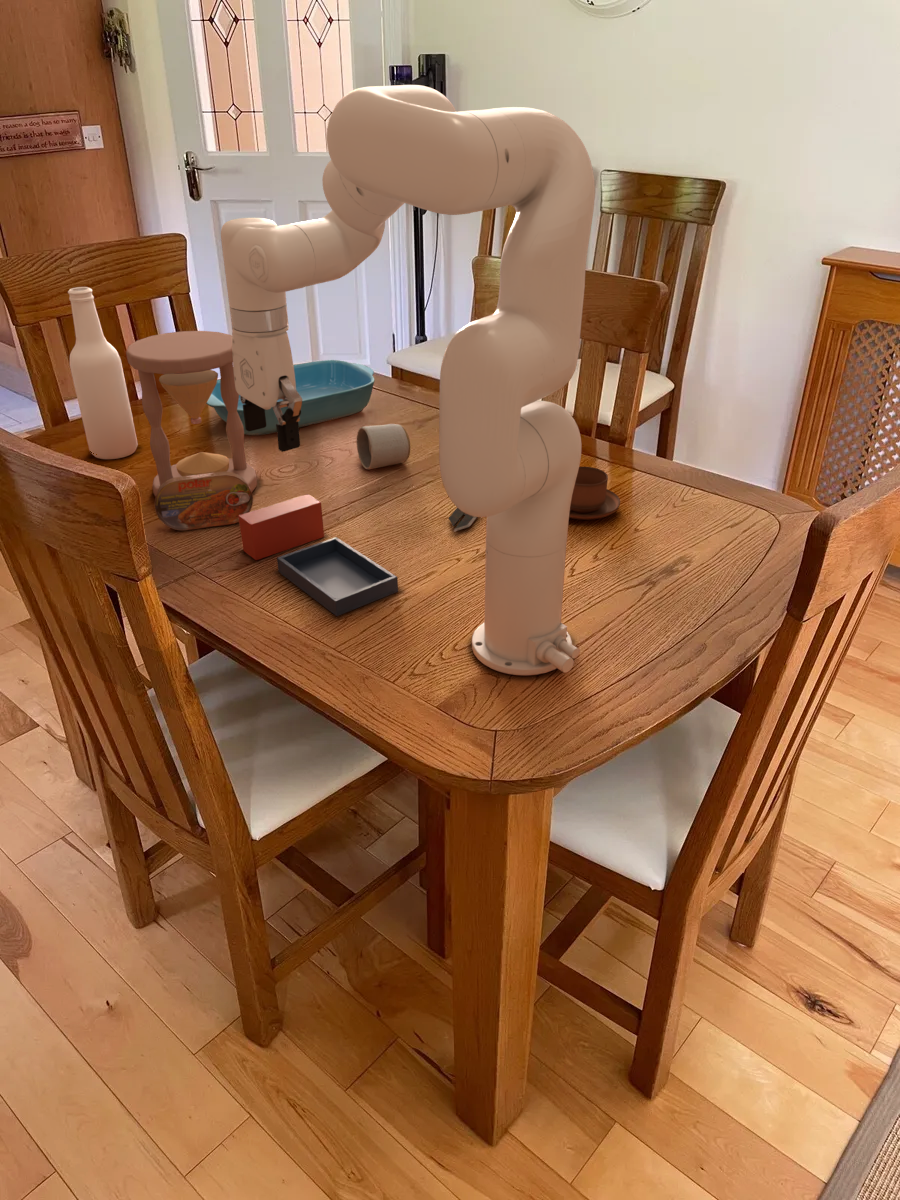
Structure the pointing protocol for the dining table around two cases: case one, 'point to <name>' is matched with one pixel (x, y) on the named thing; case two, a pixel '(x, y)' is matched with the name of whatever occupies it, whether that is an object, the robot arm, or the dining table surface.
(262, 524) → the bar
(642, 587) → the dining table surface
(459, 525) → the knife
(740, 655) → the dining table surface
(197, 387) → the hourglass
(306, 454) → the dining table surface
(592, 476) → the cup and saucer
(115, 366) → the alcohol
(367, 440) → the ceramic mug
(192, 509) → the tin
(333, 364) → the casserole dish
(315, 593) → the tray
